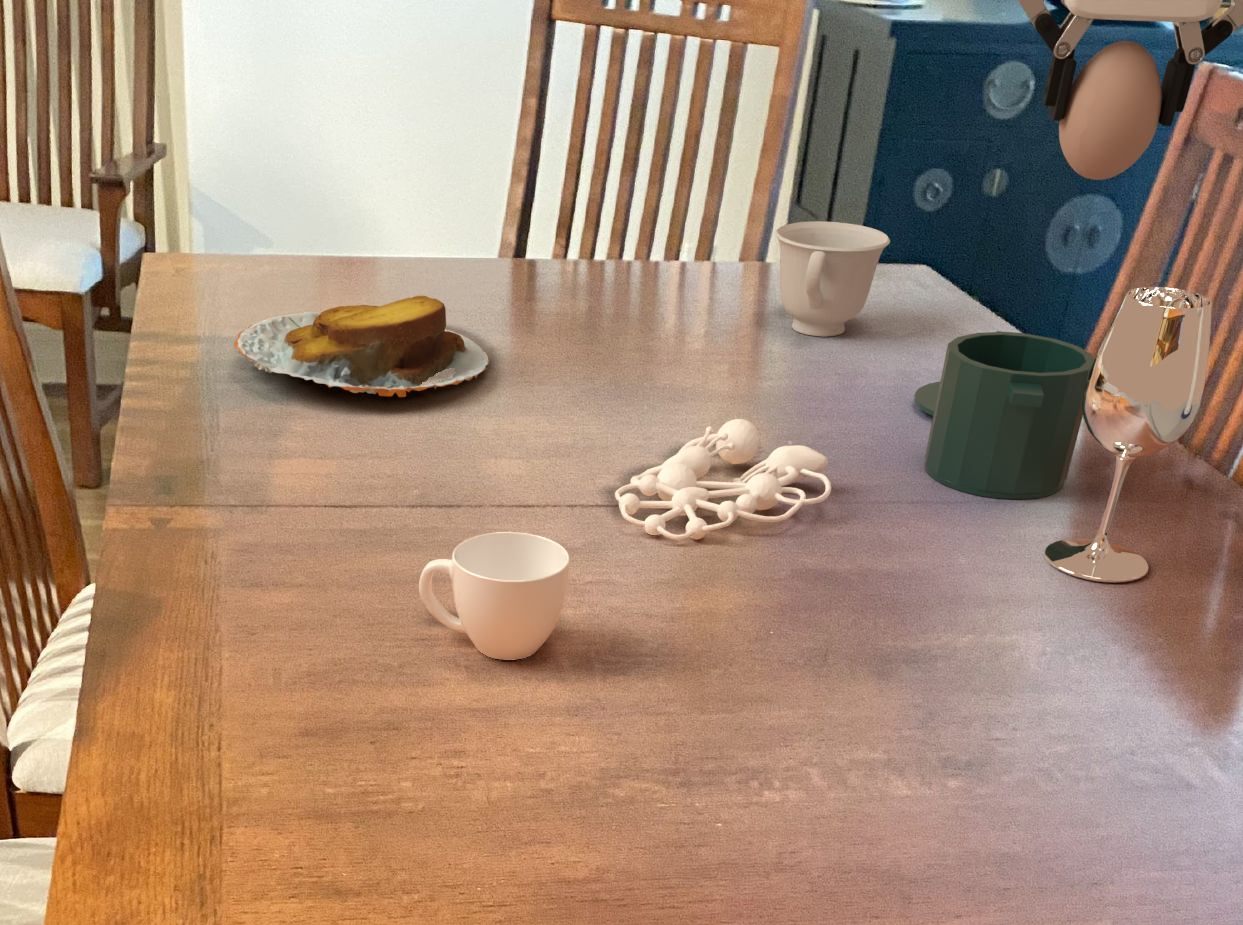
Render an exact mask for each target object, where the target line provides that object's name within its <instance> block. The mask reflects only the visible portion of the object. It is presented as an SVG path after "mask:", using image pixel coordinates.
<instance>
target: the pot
mask: <svg viewBox="0 0 1243 925" xmlns="http://www.w3.org/2000/svg"><path fill="white" fill-rule="evenodd" d="M1094 360H1095V357H1094V354H1091V353H1090V352H1089V351H1087V350H1085V349H1084V348H1082V347H1080V346H1078V345H1075V344H1072V343H1070V342H1067V341H1063V340H1060V339H1057V338H1052V337H1047V336H1041V335H1035V334H1031V333H1025V332H1015V331H1014V332H1013V331H1001V330H997V331H991V332H989V331H987V332H985V331H984V332H975V333H970V334H965V335H961V336H957V337H955V338H954V339H953V340H951V341H950V342H948V343H947V347H946V352H945V356H944V361H943V367H942V372H941V376H940V386H939V391H938V396H937V400H936V405H935V410H934V415H933V416H932V421H931V424H930V425H931V427H930V431H929V435H928V439H927V440H928V441H927V446H926V451H925V454H924V458H925V460H924V470H925V471H926V473H927V474H928V475H929V477H931V478H932V479H933V480H935V481H936V482H938V483H939V484H941V485H944V486H946V487H948V488H951V489H953V490H956V491H959V492H963V493H966V494H970V495H975V496H979V497H985V498H990V499H991V498H992V499H999V500H1031V499H1032V500H1033V499H1040V498H1044V497H1049V496H1052V495H1053V494H1056V493H1057V492H1060V490H1061V489H1062V488H1063V487H1064V484H1065V481H1066V480H1067V478H1068V474H1069V470H1070V467H1071V463H1072V459H1073V455H1074V451H1075V447H1076V443H1077V440H1078V436H1079V432H1080V428H1081V425H1082V420H1083V409H1082V399H1083V393H1084V388H1085V385H1086V382H1087V379H1088V376H1089V373H1090V370H1091V368H1092V365H1093V363H1094Z"/></svg>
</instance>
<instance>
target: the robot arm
mask: <svg viewBox="0 0 1243 925" xmlns="http://www.w3.org/2000/svg"><path fill="white" fill-rule="evenodd" d="M1017 1H1018V4H1019V5H1020V7H1021V8H1022V10H1023V11H1024V13H1025V14H1026V16H1027V18H1028V19H1029V21H1030V23H1031V24H1032V27H1033V28H1034V29H1035V31H1036V32H1037V33H1038V35H1039V36H1040V38H1041V39H1042V41H1043V42H1044V44H1045V45H1046V46H1047V48H1048V49H1049V51H1050V52H1051V54H1052V55H1051V61H1050V65H1049V70H1048V74H1047V79H1046V84H1045V88H1044V93H1043V98H1042V106H1044V107H1049V110H1048V116H1049V117H1050V119H1051V120H1052V121H1053V122H1060V121H1061V119H1064V117H1065V113H1066V109H1067V104H1068V100H1069V95H1070V91H1071V87H1072V84H1073V83H1074V77H1075V73H1076V69H1077V60H1076V59H1075V58H1074V56H1075V53H1076V49H1075V48H1076V47H1077V45H1078V43H1079V42H1080V41H1081V39H1082V38H1083V36H1084V34H1086V32H1087V31H1088V29H1089V27H1090V26H1091V25H1092V23H1093V21H1094V20H1108V21H1109V20H1112V21H1136V22H1162V23H1166V22H1167V23H1172V26H1173V31H1174V37H1175V42H1176V48H1177V49H1176V50H1175V51H1174V56H1173V57H1171V58H1170V60H1167V62H1166V67H1165V70H1164V74H1163V78H1162V82H1161V88H1162V105H1161V112H1160V118H1159V123H1158V124H1159V125H1160V126H1162V127H1171V126H1172V125H1173V122H1174V118H1175V113H1182V112H1183V111H1184V109H1185V106H1186V104H1187V98H1188V95H1189V91H1190V87H1191V84H1192V80H1193V75H1194V72H1195V68H1196V65H1197V64H1199V63H1201V61H1203V59H1204V57H1205V56H1207V55H1208V54H1210V53H1211V52H1212V51H1213V50H1215V48H1217V47H1218V46H1220V45H1221V44H1222V43H1223V42H1224V41H1226V40H1227V39H1228V38H1229V37H1230V36H1231V35H1232V33H1234V31H1236V30H1237V29H1239V28H1240V27H1242V26H1243V0H1230V6H1229V7H1228V8H1227V9H1226V10H1225V11H1224V12H1223V13H1222V14H1221V15H1220V16H1219V17H1218V18H1215V19H1214V20H1212V22H1210V23H1209V24H1208V25H1206V26H1204V28H1203V29H1201V24H1200V22H1201V21H1205V20H1207V19H1209V18H1211V17H1214V16H1215V15H1216V14H1217V12H1218V11H1219V10H1220V8H1221V6H1222V3H1223V0H1060V3H1061V4H1062V5H1063V6H1064V7H1065V8H1067V9H1068V10H1069V13H1068V14H1067V16H1066V17H1065V19H1064V20H1063V22H1062V23H1061V24H1060V26H1059V25H1058V23H1057V21H1056V20H1055V19H1054V17H1053V16H1052V14H1051V13H1050V11H1049V10H1048V7H1047V6H1046V4H1045V0H1017Z"/></svg>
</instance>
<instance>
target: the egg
mask: <svg viewBox="0 0 1243 925" xmlns="http://www.w3.org/2000/svg"><path fill="white" fill-rule="evenodd" d="M1160 76H1161V75H1160V72H1159V70H1158V66H1157V64H1156V61H1155V59H1154V58H1153V57H1152V55H1151V54H1150V52H1149V51H1148V50H1147V49H1146V48H1145V47H1144V46H1143V45H1142V44H1139V43H1138V42H1136V41H1132V40H1119V41H1116V42H1113V43H1111V44H1108V45H1106V46H1105V47H1103V48H1102V49H1101V50H1099V51H1098V52H1096V53H1095V54H1094V55H1093V56H1092V57H1091V58H1090V59H1089V60H1088V61H1087V62H1086V64H1085V65H1084V66H1083V67H1082V69H1081V70H1080V71H1079V73H1078V75H1077V76H1076V78H1075V79H1074V80H1073V82H1072V87H1071V91H1070V95H1069V100H1068V104H1067V109H1066V113H1065V117H1064V119H1061V121H1059V124H1058V139H1059V144H1060V148H1061V151H1062V154H1063V156H1064V158H1065V160H1066V161H1067V163H1068V165H1069V166H1070V167H1071V169H1072V170H1073V171H1074V172H1075V173H1076V174H1078V175H1079V176H1081V177H1083V178H1085V179H1087V180H1088V179H1089V180H1095V181H1101V180H1108V179H1112V178H1114V177H1116V176H1118V175H1119V174H1121V173H1123V172H1125V171H1126V170H1127V169H1129V168H1130V167H1132V166H1133V165H1134V164H1135V163H1136V162H1137V161H1138V160H1139V159H1140V157H1142V155H1143V154H1144V153H1145V151H1146V150H1147V149H1148V148H1149V146H1150V144H1151V143H1152V141H1153V138H1154V136H1155V135H1156V132H1157V130H1158V129H1157V128H1158V126H1159V124H1160V123H1159V118H1160V112H1161V105H1162V88H1161V86H1162V82H1161V77H1160Z"/></svg>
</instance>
